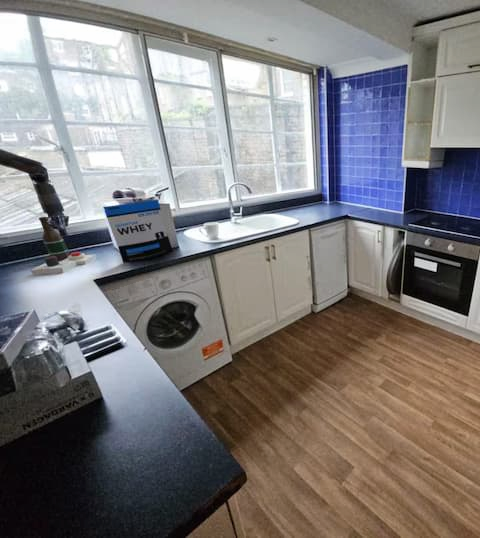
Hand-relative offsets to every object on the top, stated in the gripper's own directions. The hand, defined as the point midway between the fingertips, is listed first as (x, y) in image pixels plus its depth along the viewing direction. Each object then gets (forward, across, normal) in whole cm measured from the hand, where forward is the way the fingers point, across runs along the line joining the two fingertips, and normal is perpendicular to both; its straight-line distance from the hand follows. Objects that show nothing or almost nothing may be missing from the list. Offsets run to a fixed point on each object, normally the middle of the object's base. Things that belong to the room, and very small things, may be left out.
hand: (64, 236), depth 154 cm
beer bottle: (+15, -8, -12) cm, 21 cm away
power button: (+11, 0, +1) cm, 11 cm away
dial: (+12, +11, -3) cm, 16 cm away
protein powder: (+15, 0, +36) cm, 39 cm away
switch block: (+15, 0, +1) cm, 15 cm away
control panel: (+15, +10, -3) cm, 19 cm away
